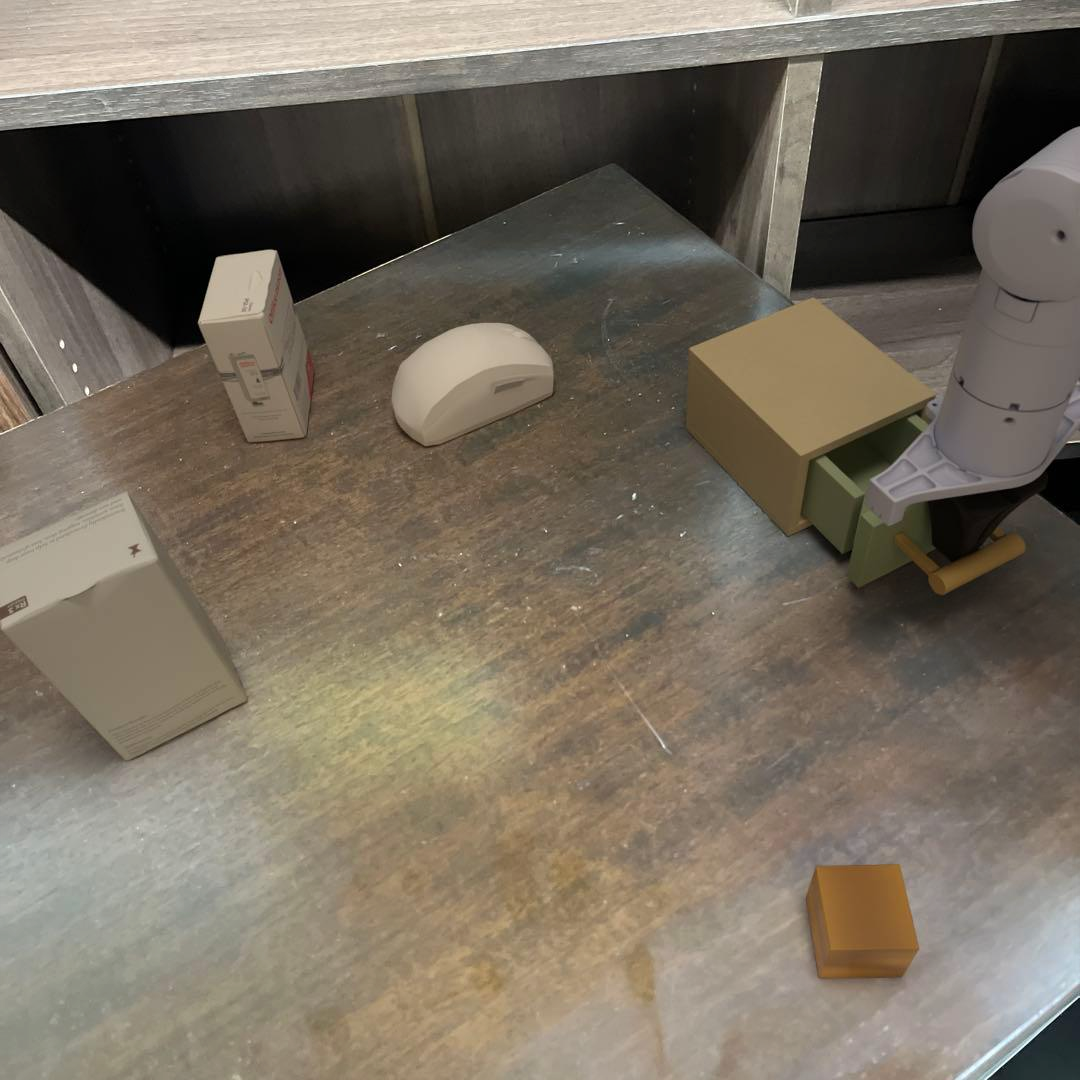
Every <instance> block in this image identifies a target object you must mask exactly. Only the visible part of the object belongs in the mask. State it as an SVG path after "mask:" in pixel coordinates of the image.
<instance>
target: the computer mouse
mask: <svg viewBox="0 0 1080 1080" xmlns="http://www.w3.org/2000/svg"><path fill="white" fill-rule="evenodd" d="M554 377H555V375H554V364H553V359H552V357H551V356H550V355H549V353H548V352H547V351H546V350H545V349H544V348H543V347H542V345H540V344H539V343H538V341H537V340H536V339H535V338H534V337H533V336H532V335H530V333H528V332H527V331H525V330H524V329H521V328H519V327H516V326H514V325H512V324H510V323H504V322H480V323H471V324H465V325H460V326H457V327H454V328H451V329H448V330H447V331H445V332H443V333H441V334H439V335H437V336H436V337H433V338H432V339H430V340H428V341H426V342H424V343H423V344H422V345H420V346H419V347H418V348H417V349H415V351H414V352H412V353H411V354H410V355H409V356H408V357H406V358H405V359H404V360H403V361H402V362H401V363H400V364H399V367H398V370H397V372H396V374H395V377H394V381H393V384H392V390H391V398H390V399H391V400H390V401H391V405H392V409H393V412H394V417H395V420H396V423H397V424H398V425H399V427H400V429H402V431H403V432H404V433H405V434H407V435H408V436H409V437H410V438H411V439H412V440H414V441H416V442H418V443H419V444H421V445H423V446H424V447H430V446H436V445H441V444H444V443H446V442H449V441H451V440H453V439H456V438H458V437H460V436H463V435H465V434H468V433H470V432H473V431H475V430H478V429H479V428H480V429H481V428H483V427H484V426H486V425H489V424H491V423H494V422H496V421H498V420H501V419H503V418H505V417H507V416H510V415H513V414H515V413H518V412H520V411H522V410H524V409H526V408H529V407H530V406H532V405H535V404H537V403H539V402H541V401H544V400H545V399H547V398H549V397H551V396H552V395H553V393H554Z"/></svg>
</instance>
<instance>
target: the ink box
mask: <svg viewBox="0 0 1080 1080" xmlns="http://www.w3.org/2000/svg"><path fill="white" fill-rule="evenodd" d="M201 307H202V308H201V311H200V315H199V317H198V321H197V325H198V327H199V330H200V332H201V334H202V337H203V339H204V342H205V344H206V347H207V349H208V351H209V354H210V356H211V359H212V361H213V364H214V365H215V368H216V370H217V372H218V375H219V377H220V379H221V382H222V384H223V386H224V389H225V391H226V394H227V396H228V398H229V401H230V403H231V405H232V408H233V411H234V413H235V415H236V417H237V420H238V422H239V425H240V428H241V430H242V432H243V434H244V437H245V439H246V442H248V443H258V442H272V441H283V440H284V441H285V440H292V439H301V438H302V439H303V438H305V437H306V436H307V432H308V425H309V417H310V408H311V400H312V393H313V385H314V378H315V366H314V363H313V360H312V357H311V353H310V351H309V348H308V344H307V341H306V338H305V334H304V332H303V329H302V326H301V322H300V320H299V316H298V313H297V310H296V307H295V304H294V300H293V298H292V294H291V291H290V287H289V285H288V282H287V278H286V276H285V272H284V269H283V266H282V263H281V260H280V256H279V253H278V251H277V250H276V249H275V250H274V249H264V250H257V251H249V252H244V253H243V252H242V253H233V254H227V255H220V256H217V257H216V258H215V261H214V265H213V268H212V272H211V275H210V278H209V281H208V286H207V289H206V293H205V297H204V300H203V304H202V306H201Z"/></svg>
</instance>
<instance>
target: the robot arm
mask: <svg viewBox="0 0 1080 1080" xmlns="http://www.w3.org/2000/svg"><path fill="white" fill-rule="evenodd" d="M971 228H972V229H971V236H972V237H971V238H972V244H973V249H974V252H975V255H976V258H977V260H978V262H979V264H980V266H981V271H980V273H979V274H980V275H979V278H978V282H977V284H976V287H975V288H974V292H973V296H972V300H971V303H970V307H969V310H968V314H967V316H966V321H965V324H964V326H963V330H962V333H961V337H960V341H959V344H958V348H957V350H956V354H955V357H954V361H953V365H952V367H951V371H950V374H949V379H948V382H947V385H946V388H945V393H944V394H942V395H940V396H937V397H935V399H934V400H931V401H930V402H929V403H927V407H926V411H925V414H926V416H927V417H928V418H929V420H930V421H931V422H930V423H928V425H929V426H928V427H927V428H926V429H925V430H924V431H923V432H922V433H921V434H920V435H919V436H918V437H917V438H916V440H915V441H914V442H913V443H912V444H911V445H910V446H909V447H908V448H907V449H906V450H905V451H904V452H903V453H902V455H901V456H900V457H899V458H898V459H897V460H896V461H895V462H894V463H893V464H892V465H891V466H890V467H889V468H887V469H886V470H885V471H883V472H882V473H880V474H878V475H877V476H875V477H873V478H871V479H870V481H869V485H868V489H867V494H866V498H865V502H864V504H865V505H866V506H867V507H868V508H869V509H870V510H871V511H872V512H873V513H874V514H875V515H876V516H877V517H878V518H879V519H881V520H882V521H883V522H884V523H885V524H886V525H887V526H891V525H893V524H895V523H897V522H899V521H901V520H902V519H903V515H904V512H905V509H906V507H907V506H909V505H911V504H914V503H919V502H924V501H927V502H928V506H929V511H930V519H931V534H932V545H933V546H934V547H935V548H936V549H935V550H937V551H938V552H939V553H940V554H941V555H942V556H944V558H945V559H946V560H948V561H949V562H950V563H952V562H954V561H956V560H958V559H960V558H962V557H964V556H966V555H968V554H970V553H972V552H974V551H976V550H978V549H980V548H982V547H983V545H984V544H985V543H986V541H987V540H988V539H989V536H990V535H991V534H992V533H993V531H994V530H995V529H996V528H997V527H998V528H999V526H1000V525H1001V524H1002V522H1003V521H1005V519H1006V518H1008V517H1009V515H1011V513H1013V512H1014V511H1015V510H1016V509H1017V508H1018V507H1019V506H1021V505H1022V504H1024V503H1025V502H1026V501H1028V500H1029V499H1030V498H1032V497H1034V496H1035V495H1037V494H1039V493H1041V492H1042V491H1044V490H1045V489H1046V487H1047V484H1048V482H1049V475H1048V472H1047V471H1046V469H1047V468H1048V467H1049V466H1050V465H1051V463H1052V462H1053V461H1054V460H1055V458H1056V457H1057V455H1059V453H1060V452H1061V451H1062V450H1063V448H1064V447H1065V446H1066V444H1067V443H1068V442H1069V441H1070V439H1072V437H1074V434H1075V433H1076V432H1077V431H1079V432H1080V381H1079V379H1080V126H1077V127H1074V128H1072V129H1069V130H1068V131H1066V132H1065V133H1062V134H1061V135H1060V136H1058V137H1057V138H1056V139H1055V140H1053V141H1052V142H1050V143H1049V144H1048V145H1046V146H1045V147H1043V148H1042V149H1041V150H1040V151H1038V152H1037V153H1035V154H1034V155H1032V156H1031V157H1030V158H1029V159H1027V160H1026V161H1024V162H1023V163H1022V164H1021V165H1019V166H1018V167H1017V168H1015V169H1014V170H1013V171H1011V172H1009V174H1007V175H1006V176H1004V177H1003V178H1002V179H1000V180H999V181H998V182H997V183H996V184H995V185H994V186H993V188H992V189H990V190H989V191H988V192H987V193H986V194H985V196H984V197H983V198H982V200H981V201H980V203H979V204H978V206H977V209H976V211H975V213H974V218H973V222H972V227H971Z"/></svg>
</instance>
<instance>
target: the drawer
mask: <svg viewBox="0 0 1080 1080" xmlns="http://www.w3.org/2000/svg"><path fill="white" fill-rule="evenodd" d="M928 426H929V423H928V424H927V423H926V422H925V421H924V420H922V419H921V418H920V417H919V416H918V415H916V414H915V413H912V414H909V415H907V416H905V417H903V418H901V419H898V420H896V421H894V422H892V423H890V424H888V425H885V426H883V427H881V428H879V429H877V430H874V431H872V432H870V433H868V434H866V435H863V436H861V437H859V438H857V439H855V440H853V441H850V442H848V443H846V444H844V445H842V446H839V447H837V448H835V449H833V450H831V451H829V452H826V453H824V454H822V455H820V456H818V457H815V458H813V459H811V460H809V466H808V472H807V478H806V484H805V489H804V495H803V501H802V507H801V512H802V513H803V514H804V515H805V517H806V518H807V519H808V520H809V521H810V522H811V523H812V524H813V525H812V526H815V528H816V529H817V530H818V531H819V532H820V533H821V534H822V535H823V536H824V537H825V538H826V539H827V540H828V541H829V542H830V543H831V544H832V545H833V546H834V547H835V548H836V549H837V550H838V551H839V553H840V554H842V555H843V554H846V553H848V552H849V551H851V554H850V559H849V564H848V566H847V571H846V577H847V578H848V579H849V580H850V581H851V582H852V583H853V584H854V585H855V586H856V587H857V588H860V587H863V586H865V585H867V584H869V583H871V582H873V581H875V580H877V579H879V578H880V577H883V576H885V575H887V574H889V573H891V572H893V571H894V570H897V569H899V568H900V567H902V566H904V565H906V564H909V563H910V562H912V561H913V563H915V564H916V565H917V566H918V567H919V568H920V569H921V570H922V572H924V573H925V574H926V575H927V576H928V583H929V586H930V588H931V590H933V592H935V593H936V594H937V595H940V596H944V595H947V594H948V593H950V592H951V591H955V590H956V589H957V588H959V587H962V586H963V585H965V584H967V583H969V582H971V581H973V580H975V579H977V578H980V577H981V576H983V575H985V574H987V573H988V572H990V571H992V570H994V569H996V568H998V567H1000V566H1002V565H1003V564H1006V563H1008V562H1009V561H1011V560H1013V559H1015V558H1017V557H1019V556H1021V555H1023V554H1024V553H1025V552H1026V543H1025V540H1024V539H1023V538H1022V536H1020V535H1019V534H1017V533H1015V532H1009V533H1007V534H1006V532H1004V531H1003V530H1002V529H1001V528H1000V527H999V526H998V527H997V528H996V529H995V530H994V531H993V533H992V534H991V535H990V536H989V537H988V539H990V540H991V541H992V542H990V543H988V544H985V545H984V546H981V547H980V548H979V549H978V550H976V551H974V552H972V553H970V554H968V555H966V556H964V557H962V558H960V559H958V560H956V561H954V562H952V563H951V562H950V563H949V564H947V565H944V566H943V567H941V568H940V566H939V565H938V564H937V563H936V562H934V561H933V559H931V558H930V556H928V555H927V554H928V553H930V552H933V551H934V550H937V549H936V548H935V547H934V546H933V545H932V534H931V519H930V511H929V506H928V502H927V501H924V502H919V503H914V504H911V505H909V506H907V507H906V509H905V512H904V515H903V519H902V520H901V521H899V522H897V523H895V524H893V525H891V526H887V525H886V524H885V523H884V522H883V521H882V520H881V519H879V518H878V517H877V516H876V515H875V514H874V513H873V512H872V511H871V510H870V509H869V508H868V507H867V506H866V505H865V504H864V502H865V498H866V494H867V489H868V485H869V481H870V479H871V478H873V477H875V476H877V475H878V474H880V473H882V472H883V471H885V470H886V469H887V468H889V467H890V466H891V465H892V464H893V463H894V462H895V461H896V460H897V459H898V458H899V457H900V456H901V455H902V453H903V452H904V451H905V450H906V449H907V448H908V447H909V446H910V445H911V444H912V443H913V442H914V441H915V440H916V438H917V437H918V436H919V435H920V434H921V433H922V432H923V431H924V430H925V429H926V428H927V427H928Z"/></svg>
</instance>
